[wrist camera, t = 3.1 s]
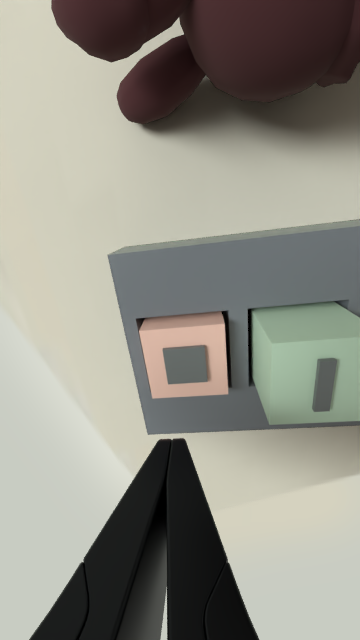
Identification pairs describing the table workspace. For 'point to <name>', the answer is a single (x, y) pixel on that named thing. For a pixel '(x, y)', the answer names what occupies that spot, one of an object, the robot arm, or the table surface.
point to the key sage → (306, 362)
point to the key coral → (185, 354)
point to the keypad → (231, 307)
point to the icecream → (217, 46)
